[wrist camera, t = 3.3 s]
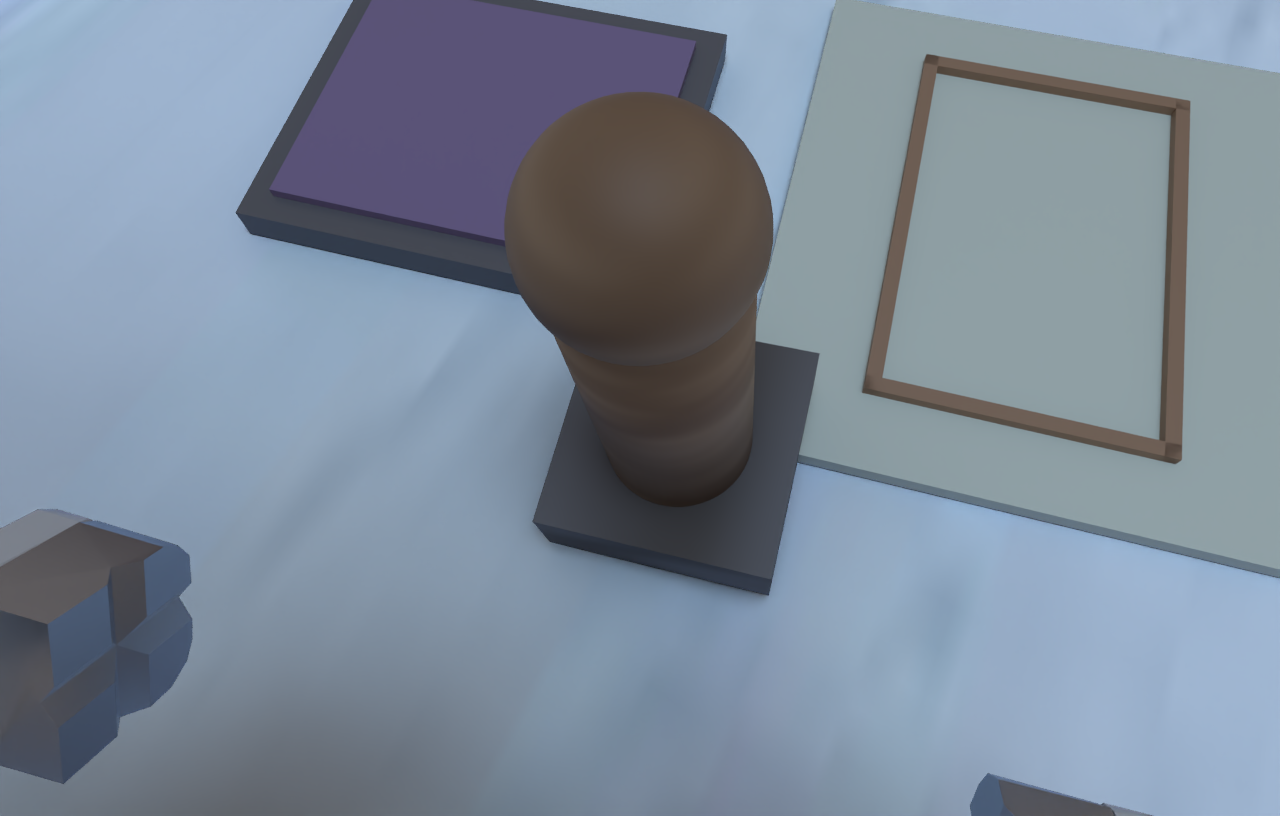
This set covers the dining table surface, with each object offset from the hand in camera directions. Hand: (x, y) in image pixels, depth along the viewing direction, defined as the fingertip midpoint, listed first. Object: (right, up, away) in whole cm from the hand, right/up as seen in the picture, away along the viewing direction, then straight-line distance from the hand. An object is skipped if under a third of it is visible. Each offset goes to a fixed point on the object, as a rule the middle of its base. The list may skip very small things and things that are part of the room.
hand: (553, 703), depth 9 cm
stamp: (+2, +2, +14) cm, 14 cm away
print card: (+12, +7, +16) cm, 22 cm away
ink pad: (-3, +11, +18) cm, 22 cm away
